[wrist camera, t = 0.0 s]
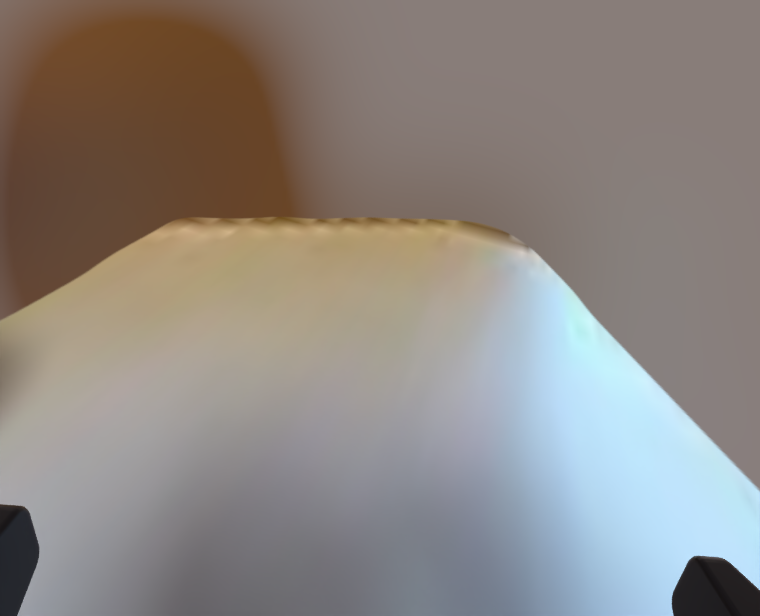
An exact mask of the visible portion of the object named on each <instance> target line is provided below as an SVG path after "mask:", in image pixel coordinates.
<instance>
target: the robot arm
mask: <svg viewBox="0 0 760 616" xmlns="http://www.w3.org/2000/svg"><path fill="white" fill-rule="evenodd" d="M38 558H39V544H38V540H37V537H36V534H35V530H34V527H33V523H32V520H31V516H30V513H29V511H28V510H27V509H26V508H25V507H23V506H16V505H2V504H0V616H17V615H18V612H19V609H20V607H21V604H22V602H23V599H24V597H25V594H26V591H27V589H28V586H29V584H30V581H31V578H32V576H33V573H34V571H35V568H36V565H37V562H38ZM672 610H673V615H674V616H760V590H759V589H758V588H757V587H756V586H754V585H753V584H752V583H751V582H750V581H749V580H748V579H747V578H746V577H745V576H744V575H743V574H742V573H740V572H739V571H738V570H737V569H736V568H735V567H734V566H733V565H732V564H731V563H729V562H728V561H726V560H725V559H723V558H719V557H707V556H694V557H692V558H691V559H690V560H689V561H688V563H687V565H686V567H685V569H684V571H683V573H682V575H681V577H680V579H679V581H678V583H677V585H676V587H675V589H674V592H673V596H672Z"/></svg>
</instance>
